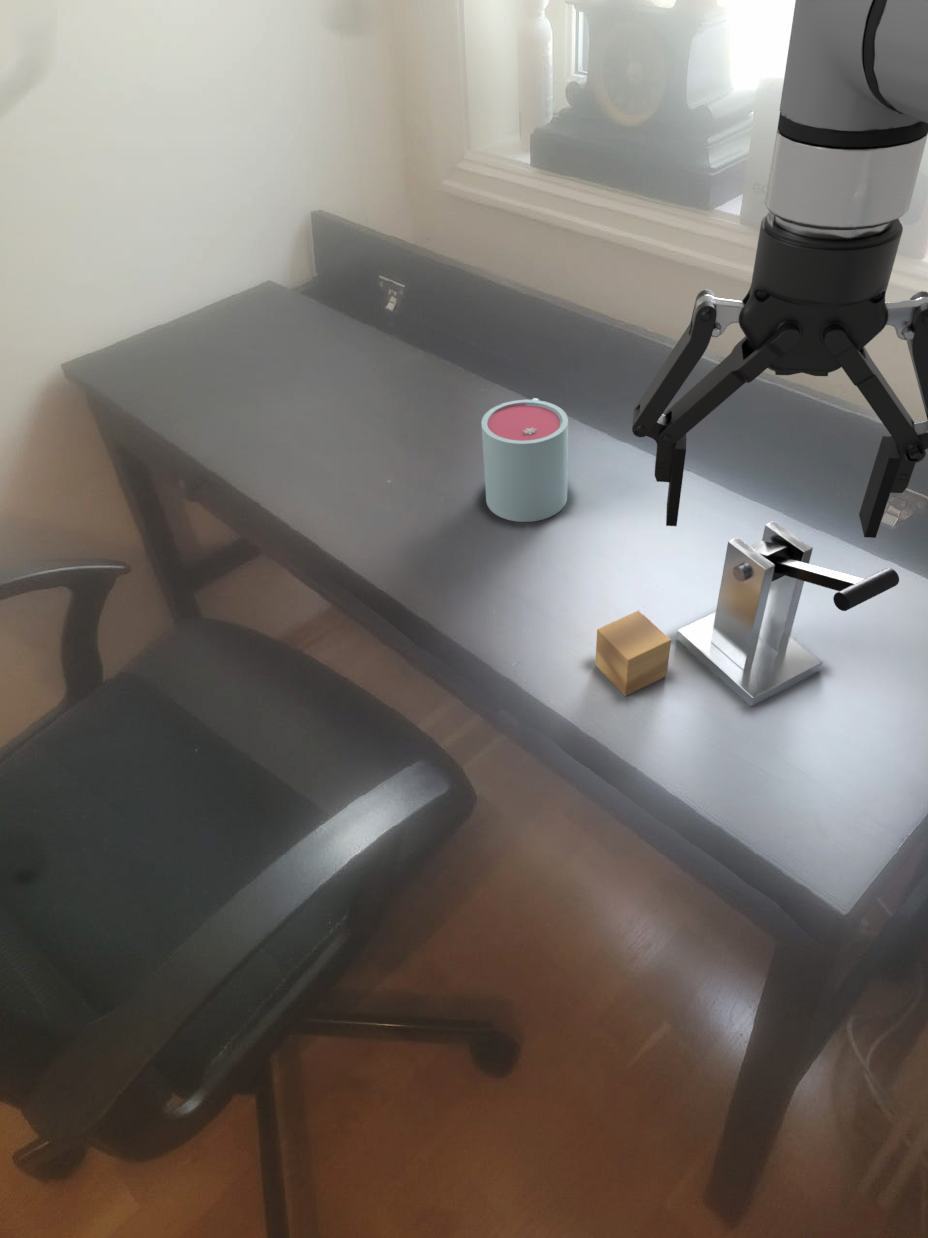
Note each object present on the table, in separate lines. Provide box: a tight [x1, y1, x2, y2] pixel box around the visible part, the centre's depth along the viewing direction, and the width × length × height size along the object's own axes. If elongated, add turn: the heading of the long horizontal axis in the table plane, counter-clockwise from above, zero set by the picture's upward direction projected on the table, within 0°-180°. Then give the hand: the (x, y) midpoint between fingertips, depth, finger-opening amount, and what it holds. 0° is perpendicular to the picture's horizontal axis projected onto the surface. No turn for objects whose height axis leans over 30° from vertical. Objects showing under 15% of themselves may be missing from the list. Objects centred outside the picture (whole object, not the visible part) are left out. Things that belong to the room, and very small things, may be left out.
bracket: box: [675, 520, 823, 708], centre depth 75 cm, size 10×8×13 cm
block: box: [594, 610, 672, 697], centre depth 77 cm, size 5×5×5 cm
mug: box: [480, 397, 569, 523], centre depth 97 cm, size 14×9×10 cm
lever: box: [749, 540, 900, 612], centre depth 67 cm, size 12×5×2 cm, turn 29°
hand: (767, 520), depth 63 cm, fingers open, 13 cm apart
